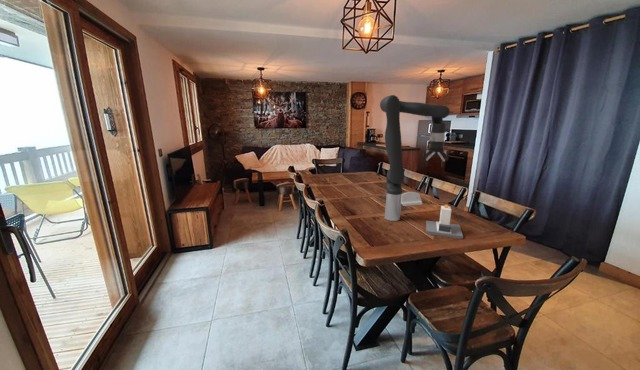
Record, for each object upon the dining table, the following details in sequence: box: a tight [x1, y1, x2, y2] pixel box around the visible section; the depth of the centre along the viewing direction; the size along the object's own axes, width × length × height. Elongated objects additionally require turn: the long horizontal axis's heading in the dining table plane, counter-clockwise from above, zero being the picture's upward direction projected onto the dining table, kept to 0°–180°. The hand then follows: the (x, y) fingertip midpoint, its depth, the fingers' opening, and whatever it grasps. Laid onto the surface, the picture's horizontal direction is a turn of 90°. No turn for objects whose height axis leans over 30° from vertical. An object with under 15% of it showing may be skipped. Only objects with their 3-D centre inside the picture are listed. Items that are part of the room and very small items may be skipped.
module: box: [438, 204, 452, 225], centre depth 139 cm, size 5×6×14 cm
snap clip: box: [439, 224, 451, 232], centre depth 136 cm, size 6×2×3 cm, turn 68°
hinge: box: [401, 191, 423, 207], centre depth 188 cm, size 17×5×10 cm, turn 102°
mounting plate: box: [425, 220, 464, 240], centre depth 142 cm, size 18×16×2 cm
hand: (434, 166), depth 155 cm, fingers open, 8 cm apart
